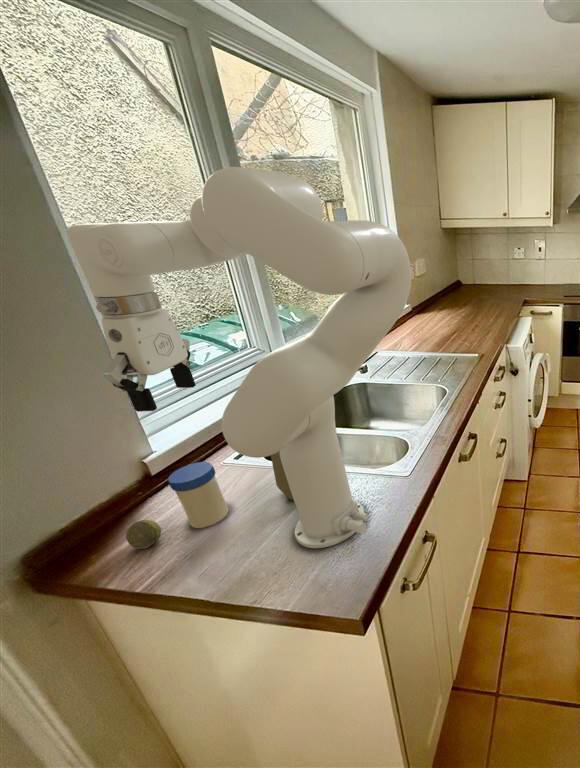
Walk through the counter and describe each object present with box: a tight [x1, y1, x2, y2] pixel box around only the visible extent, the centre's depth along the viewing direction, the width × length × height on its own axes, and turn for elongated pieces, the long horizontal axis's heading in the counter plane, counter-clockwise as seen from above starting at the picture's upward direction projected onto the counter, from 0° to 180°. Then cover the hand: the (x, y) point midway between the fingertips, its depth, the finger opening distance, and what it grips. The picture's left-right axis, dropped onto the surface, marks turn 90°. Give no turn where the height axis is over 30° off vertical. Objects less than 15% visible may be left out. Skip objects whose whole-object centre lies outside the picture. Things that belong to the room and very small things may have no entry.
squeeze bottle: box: [270, 451, 294, 501], centre depth 83 cm, size 8×8×18 cm
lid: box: [167, 461, 216, 492], centre depth 76 cm, size 7×7×2 cm
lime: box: [125, 519, 162, 550], centre depth 73 cm, size 4×5×5 cm
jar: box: [174, 475, 229, 529], centre depth 78 cm, size 6×6×11 cm
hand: (167, 398), depth 71 cm, fingers open, 9 cm apart
